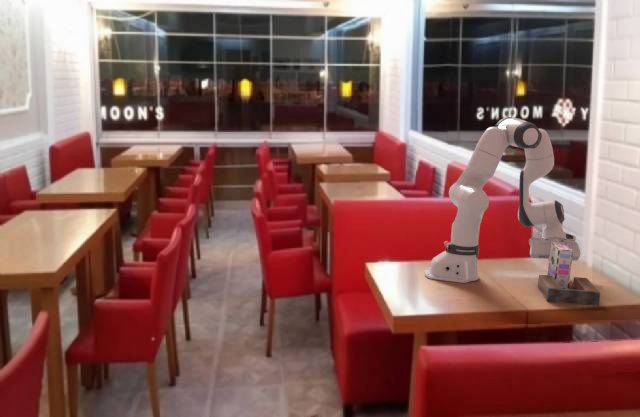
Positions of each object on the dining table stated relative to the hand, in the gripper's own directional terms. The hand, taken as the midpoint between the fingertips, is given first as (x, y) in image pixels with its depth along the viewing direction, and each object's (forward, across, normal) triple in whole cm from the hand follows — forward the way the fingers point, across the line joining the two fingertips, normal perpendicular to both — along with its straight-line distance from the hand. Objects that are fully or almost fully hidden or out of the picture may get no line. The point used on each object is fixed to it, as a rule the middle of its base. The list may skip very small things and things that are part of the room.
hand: (556, 267), depth 283 cm
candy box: (+9, -1, -1) cm, 9 cm away
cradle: (+18, 0, -11) cm, 21 cm away
